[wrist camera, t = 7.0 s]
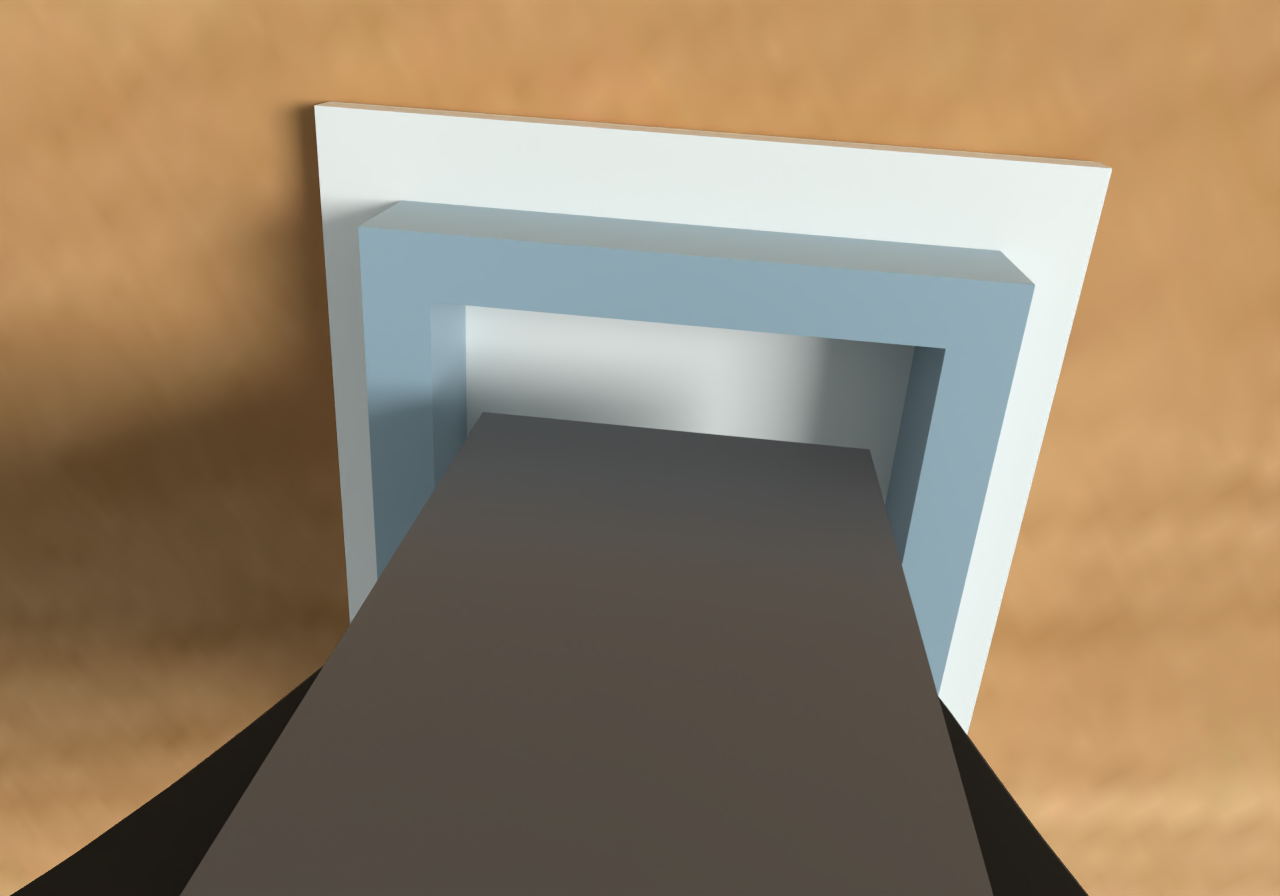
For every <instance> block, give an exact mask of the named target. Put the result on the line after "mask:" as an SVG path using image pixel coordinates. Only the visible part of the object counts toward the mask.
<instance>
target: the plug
mask: <svg viewBox="0 0 1280 896" xmlns="http://www.w3.org/2000/svg"><path fill="white" fill-rule="evenodd" d="M180 896H993V892H992V889H991V885H990V882H989V878H988V874H987V871H986V867H985V863H984V860H983V856H982V853H981V849H980V845H979V842H978V838H977V835H976V831H975V827H974V824H973V820H972V817H971V813H970V809H969V806H968V802H967V799H966V795H965V791H964V788H963V784H962V781H961V777H960V773H959V770H958V766H957V763H956V759H955V755H954V752H953V748H952V744H951V741H950V737H949V734H948V730H947V726H946V723H945V719H944V716H943V712H942V708H941V705H940V701H939V698H938V694H937V690H936V687H935V683H934V680H933V676H932V672H931V669H930V665H929V662H928V658H927V654H926V651H925V647H924V643H923V640H922V636H921V633H920V629H919V625H918V622H917V618H916V615H915V611H914V607H913V604H912V600H911V597H910V593H909V589H908V586H907V582H906V579H905V575H904V571H903V568H902V564H901V561H900V557H899V553H898V550H897V546H896V543H895V539H894V535H893V532H892V528H891V524H890V521H889V517H888V514H887V510H886V506H885V503H884V499H883V496H882V492H881V488H880V485H879V481H878V478H877V474H876V470H875V467H874V463H873V460H872V456H871V452H870V449H860V448H850V447H840V446H829V445H819V444H809V443H798V442H788V441H778V440H768V439H757V438H747V437H737V436H726V435H716V434H706V433H695V432H685V431H675V430H664V429H654V428H644V427H634V426H623V425H613V424H603V423H592V422H582V421H572V420H561V419H551V418H541V417H530V416H520V415H510V414H499V413H489V412H483V413H482V414H481V416H480V417H479V419H478V421H477V422H476V424H475V425H474V427H473V429H472V430H471V432H470V433H469V435H468V437H467V438H466V440H465V441H464V443H463V445H462V446H461V448H460V449H459V451H458V452H457V454H456V456H455V457H454V459H453V460H452V462H451V464H450V465H449V467H448V468H447V470H446V472H445V473H444V475H443V476H442V478H441V480H440V481H439V483H438V484H437V486H436V488H435V489H434V491H433V492H432V494H431V496H430V497H429V499H428V500H427V502H426V504H425V505H424V507H423V508H422V510H421V512H420V513H419V515H418V516H417V518H416V520H415V521H414V523H413V524H412V526H411V528H410V529H409V531H408V532H407V534H406V535H405V537H404V539H403V540H402V542H401V543H400V545H399V547H398V548H397V550H396V551H395V553H394V555H393V556H392V558H391V559H390V561H389V563H388V564H387V566H386V567H385V569H384V571H383V572H382V574H381V575H380V577H379V579H378V580H377V582H376V583H375V585H374V587H373V588H372V590H371V591H370V593H369V595H368V596H367V598H366V599H365V601H364V603H363V604H362V606H361V607H360V609H359V611H358V612H357V614H356V615H355V617H354V618H353V620H352V622H351V623H350V625H349V626H348V628H347V630H346V631H345V633H344V634H343V636H342V638H341V639H340V641H339V642H338V644H337V646H336V647H335V649H334V650H333V652H332V654H331V655H330V657H329V658H328V660H327V662H326V663H325V665H324V666H323V668H322V670H321V671H320V673H319V674H318V676H317V678H316V679H315V681H314V682H313V684H312V686H311V687H310V689H309V690H308V692H307V694H306V695H305V697H304V698H303V700H302V702H301V703H300V705H299V706H298V708H297V709H296V711H295V713H294V714H293V716H292V717H291V719H290V721H289V722H288V724H287V725H286V727H285V729H284V730H283V732H282V733H281V735H280V737H279V738H278V740H277V741H276V743H275V745H274V746H273V748H272V749H271V751H270V753H269V754H268V756H267V757H266V759H265V761H264V762H263V764H262V765H261V767H260V769H259V770H258V772H257V773H256V775H255V777H254V778H253V780H252V781H251V783H250V785H249V786H248V788H247V789H246V791H245V792H244V794H243V796H242V797H241V799H240V800H239V802H238V804H237V805H236V807H235V808H234V810H233V812H232V813H231V815H230V816H229V818H228V820H227V821H226V823H225V824H224V826H223V828H222V829H221V831H220V832H219V834H218V836H217V837H216V839H215V840H214V842H213V844H212V845H211V847H210V848H209V850H208V852H207V853H206V855H205V856H204V858H203V860H202V861H201V863H200V864H199V866H198V868H197V869H196V871H195V872H194V874H193V875H192V877H191V879H190V880H189V882H188V883H187V885H186V887H185V888H184V890H183V891H182V893H181V895H180Z"/></svg>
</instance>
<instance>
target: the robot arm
mask: <svg viewBox="0 0 1280 896" xmlns="http://www.w3.org/2000/svg"><path fill="white" fill-rule="evenodd" d="M322 668H323V666H322V667H321V668H320V669H319V670H317V671H316V672H315V673H314V674H312V675H311V676H310V677H309V678H308V679H306V680H305V681H304V682H303V683H301V684H300V685H299V686H298V687H296V688H295V689H294V690H293V691H291V692H290V693H289V694H288V695H287V696H285V697H284V698H283V699H282V700H280V701H279V702H278V703H277V704H275V705H274V706H273V707H272V708H270V709H269V710H268V711H267V712H265V713H264V714H263V715H262V716H260V717H259V718H258V719H257V720H255V721H254V722H253V723H252V724H250V725H249V726H248V727H246V728H245V729H244V730H243V731H241V732H240V733H239V734H237V735H236V736H235V737H234V738H232V739H231V740H230V741H228V742H227V743H226V744H224V745H223V746H222V747H221V748H219V749H218V750H217V751H215V752H214V753H213V754H212V755H210V756H209V757H208V758H206V759H205V760H204V761H202V762H201V763H200V764H199V765H197V766H196V767H195V768H193V769H192V770H191V771H189V772H188V773H187V774H186V775H184V776H183V777H182V778H180V779H179V780H178V781H176V782H175V783H174V784H172V785H171V786H170V787H168V788H167V789H165V790H164V791H163V792H161V793H160V794H158V795H157V796H155V797H154V798H153V799H151V800H150V801H148V802H147V803H146V804H144V805H143V806H141V807H140V808H139V809H137V810H136V811H134V812H133V813H132V814H130V815H129V816H127V817H126V818H124V819H123V820H122V821H120V822H119V823H117V824H116V825H115V826H113V827H112V828H110V829H109V830H108V831H106V832H105V833H103V834H102V835H101V836H99V837H98V838H96V839H95V840H93V841H92V842H91V843H89V844H88V845H86V846H85V847H84V848H82V849H81V850H79V851H78V852H77V853H75V854H73V855H72V856H70V857H69V858H67V859H66V860H64V861H63V862H61V863H60V864H58V865H57V866H55V867H54V868H52V869H51V870H49V871H48V872H46V873H45V874H43V875H42V876H40V877H39V878H37V879H35V880H34V881H32V882H31V883H29V884H28V885H26V886H24V887H23V888H21V889H20V890H18V891H17V892H15V893H13V894H12V895H10V896H180V895H181V893H182V891H183V890H184V888H185V887H186V885H187V883H188V882H189V880H190V879H191V877H192V875H193V874H194V872H195V871H196V869H197V868H198V866H199V864H200V863H201V861H202V860H203V858H204V856H205V855H206V853H207V852H208V850H209V848H210V847H211V845H212V844H213V842H214V840H215V839H216V837H217V836H218V834H219V832H220V831H221V829H222V828H223V826H224V824H225V823H226V821H227V820H228V818H229V816H230V815H231V813H232V812H233V810H234V808H235V807H236V805H237V804H238V802H239V800H240V799H241V797H242V796H243V794H244V792H245V791H246V789H247V788H248V786H249V785H250V783H251V781H252V780H253V778H254V777H255V775H256V773H257V772H258V770H259V769H260V767H261V765H262V764H263V762H264V761H265V759H266V757H267V756H268V754H269V753H270V751H271V749H272V748H273V746H274V745H275V743H276V741H277V740H278V738H279V737H280V735H281V733H282V732H283V730H284V729H285V727H286V725H287V724H288V722H289V721H290V719H291V717H292V716H293V714H294V713H295V711H296V709H297V708H298V706H299V705H300V703H301V702H302V700H303V698H304V697H305V695H306V694H307V692H308V690H309V689H310V687H311V686H312V684H313V682H314V681H315V679H316V678H317V676H318V674H319V673H320V671H321V670H322ZM938 698H939V697H938ZM939 701H940V705H941V708H942V712H943V716H944V719H945V723H946V726H947V730H948V734H949V737H950V741H951V744H952V748H953V752H954V755H955V759H956V763H957V766H958V770H959V773H960V777H961V781H962V784H963V788H964V791H965V795H966V799H967V802H968V806H969V809H970V813H971V817H972V820H973V824H974V827H975V831H976V835H977V838H978V842H979V845H980V849H981V853H982V856H983V860H984V863H985V867H986V871H987V874H988V878H989V882H990V885H991V889H992V892H993V896H1088V894H1087V893H1086V892H1085V890H1084V889H1083V888H1082V887H1081V885H1080V884H1079V883H1078V882H1077V880H1076V879H1075V878H1074V877H1073V875H1072V874H1071V873H1070V872H1069V870H1068V869H1067V868H1066V866H1065V865H1064V864H1063V863H1062V861H1061V860H1060V859H1059V858H1058V856H1057V855H1056V854H1055V853H1054V851H1053V850H1052V849H1051V848H1050V846H1049V845H1048V844H1047V843H1046V841H1045V840H1044V839H1043V837H1042V836H1041V835H1040V833H1039V832H1038V831H1037V829H1036V828H1035V827H1034V825H1033V824H1032V823H1031V821H1030V820H1029V819H1028V818H1027V816H1026V815H1025V814H1024V812H1023V811H1022V810H1021V808H1020V807H1019V805H1018V804H1017V803H1016V801H1015V800H1014V799H1013V797H1012V796H1011V795H1010V793H1009V792H1008V791H1007V789H1006V788H1005V786H1004V785H1003V784H1002V782H1001V781H1000V780H999V778H998V777H997V776H996V774H995V773H994V771H993V770H992V769H991V767H990V766H989V765H988V763H987V762H986V760H985V759H984V758H983V756H982V755H981V753H980V752H979V751H978V749H977V748H976V747H975V745H974V744H973V742H972V741H971V740H970V738H969V737H968V735H967V734H966V733H965V731H964V730H963V728H962V727H961V726H960V724H959V723H958V721H957V720H956V719H955V717H954V716H953V715H952V713H951V712H950V711H949V709H948V708H947V707H946V705H945V704H944V703H943V702H942V700H941V699H940V698H939Z"/></svg>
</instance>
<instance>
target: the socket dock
mask: <svg viewBox="0 0 1280 896" xmlns="http://www.w3.org/2000/svg"><path fill="white" fill-rule="evenodd" d="M314 108H315V123H316V137H317V152H318V166H319V181H320V195H321V210H322V224H323V239H324V253H325V267H326V282H327V296H328V311H329V325H330V340H331V354H332V369H333V383H334V398H335V412H336V427H337V441H338V456H339V470H340V485H341V499H342V514H343V528H344V543H345V557H346V571H347V586H348V600H349V615H350V623H351V622H352V620H353V618H354V617H355V615H356V614H357V612H358V611H359V609H360V607H361V606H362V604H363V603H364V601H365V599H366V598H367V596H368V595H369V593H370V591H371V590H372V588H373V587H374V585H375V583H376V582H377V580H378V579H379V577H380V575H381V574H382V572H383V571H384V569H385V567H386V566H387V564H388V563H389V561H390V559H391V558H392V556H393V555H394V553H395V551H396V550H397V548H398V547H399V545H400V543H401V542H402V540H403V539H404V537H405V535H406V534H407V532H408V531H409V529H410V528H411V526H412V524H413V523H414V521H415V520H416V518H417V516H418V515H419V513H420V512H421V510H422V508H423V507H424V505H425V504H426V502H427V500H428V499H429V497H430V496H431V494H432V492H433V491H434V489H435V488H436V486H437V484H438V483H439V481H440V480H441V478H442V476H443V475H444V473H445V472H446V470H447V468H448V467H449V465H450V464H451V462H452V460H453V459H454V457H455V456H456V454H457V452H458V451H459V449H460V448H461V446H462V445H463V443H464V441H465V440H466V438H467V437H468V435H469V433H470V432H471V430H472V429H473V427H474V425H475V424H476V422H477V421H478V419H479V417H480V416H481V414H482V413H483V412H489V413H499V414H510V415H520V416H530V417H541V418H551V419H561V420H572V421H582V422H592V423H603V424H613V425H623V426H634V427H644V428H654V429H664V430H675V431H685V432H695V433H706V434H716V435H726V436H737V437H747V438H757V439H768V440H778V441H788V442H798V443H809V444H819V445H829V446H840V447H850V448H860V449H870V452H871V456H872V460H873V463H874V467H875V470H876V474H877V478H878V481H879V485H880V488H881V492H882V496H883V499H884V503H885V506H886V510H887V514H888V517H889V521H890V524H891V528H892V532H893V535H894V539H895V543H896V546H897V550H898V553H899V557H900V561H901V564H902V568H903V571H904V575H905V579H906V582H907V586H908V589H909V593H910V597H911V600H912V604H913V607H914V611H915V615H916V618H917V622H918V625H919V629H920V633H921V636H922V640H923V643H924V647H925V651H926V654H927V658H928V662H929V665H930V669H931V672H932V676H933V680H934V683H935V687H936V690H937V694H938V697H939V698H940V699H941V700H942V702H943V703H944V704H945V705H946V707H947V708H948V709H949V711H950V712H951V713H952V715H953V716H954V717H955V719H956V720H957V721H958V723H959V724H960V726H961V727H962V728H963V730H964V731H965V733H966V734H968V730H969V726H970V722H971V718H972V714H973V710H974V706H975V702H976V699H977V695H978V691H979V687H980V683H981V679H982V675H983V671H984V667H985V663H986V660H987V656H988V652H989V648H990V644H991V640H992V636H993V632H994V628H995V624H996V620H997V617H998V613H999V609H1000V605H1001V601H1002V597H1003V593H1004V589H1005V585H1006V581H1007V578H1008V574H1009V570H1010V566H1011V562H1012V558H1013V554H1014V550H1015V546H1016V542H1017V539H1018V535H1019V531H1020V527H1021V523H1022V519H1023V515H1024V511H1025V507H1026V503H1027V499H1028V496H1029V492H1030V488H1031V484H1032V480H1033V476H1034V472H1035V468H1036V464H1037V460H1038V457H1039V453H1040V449H1041V445H1042V441H1043V437H1044V433H1045V429H1046V425H1047V421H1048V418H1049V414H1050V410H1051V406H1052V402H1053V398H1054V394H1055V390H1056V386H1057V382H1058V378H1059V375H1060V371H1061V367H1062V363H1063V359H1064V355H1065V351H1066V347H1067V343H1068V339H1069V336H1070V332H1071V328H1072V324H1073V320H1074V316H1075V312H1076V308H1077V304H1078V300H1079V297H1080V293H1081V289H1082V285H1083V281H1084V277H1085V273H1086V269H1087V265H1088V261H1089V257H1090V254H1091V250H1092V246H1093V242H1094V238H1095V234H1096V230H1097V226H1098V222H1099V218H1100V215H1101V211H1102V207H1103V203H1104V199H1105V195H1106V191H1107V187H1108V183H1109V179H1110V176H1111V172H1112V168H1110V167H1108V166H1106V165H1104V164H1102V163H1099V162H1096V161H1083V160H1070V159H1058V158H1045V157H1032V156H1019V155H1007V154H994V153H981V152H969V151H956V150H943V149H930V148H918V147H905V146H892V145H880V144H867V143H854V142H842V141H829V140H816V139H803V138H791V137H778V136H765V135H753V134H740V133H727V132H715V131H702V130H689V129H676V128H664V127H651V126H638V125H626V124H613V123H600V122H587V121H575V120H562V119H549V118H537V117H524V116H511V115H499V114H486V113H473V112H460V111H448V110H435V109H422V108H410V107H397V106H384V105H372V104H359V103H346V102H333V101H330V102H326V103H322V104H318V105H314Z"/></svg>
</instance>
